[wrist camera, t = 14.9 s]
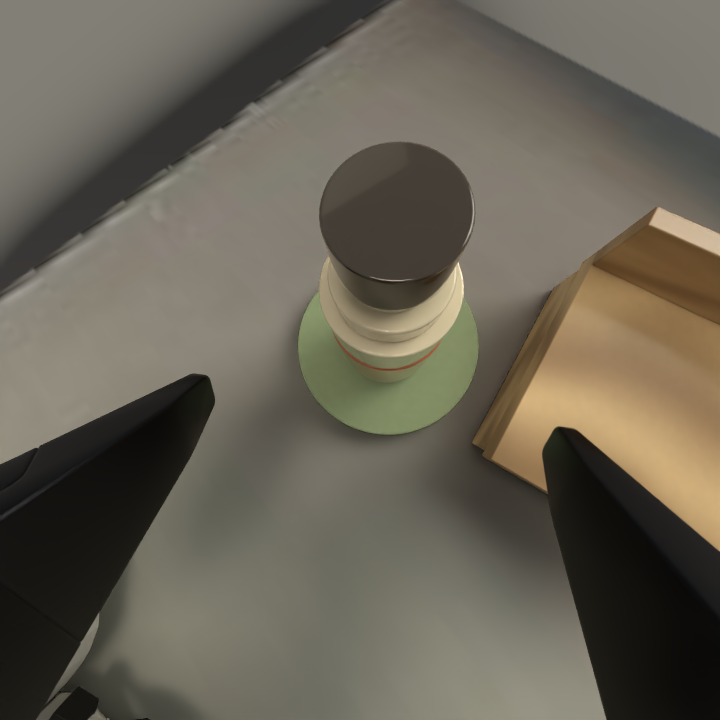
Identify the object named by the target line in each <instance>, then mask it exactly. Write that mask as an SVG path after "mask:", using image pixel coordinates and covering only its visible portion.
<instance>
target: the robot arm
mask: <svg viewBox="0 0 720 720" xmlns="http://www.w3.org/2000/svg"><path fill="white" fill-rule="evenodd" d="M214 404H215V397H214V393H213V389H212V385H211V381H210V378H209V377H208V376H206V375H202V374H190V375H188V376H186V377H184V378H181V379H179V380H177V381H175V382H173V383H171V384H169V385H167V386H165V387H163V388H160V389H158V390H156V391H154V392H152V393H150V394H148V395H146V396H144V397H142V398H140V399H137V400H135V401H133V402H131V403H129V404H127V405H125V406H123V407H121V408H119V409H116V410H114V411H112V412H110V413H108V414H106V415H104V416H102V417H100V418H98V419H95V420H93V421H91V422H89V423H87V424H85V425H83V426H81V427H79V428H77V429H74V430H72V431H70V432H68V433H66V434H64V435H62V436H60V437H58V438H56V439H53V440H51V441H49V442H47V443H45V444H43V445H41V446H40V447H39V448H34V449H32V450H30V451H28V452H26V453H24V454H22V455H20V456H18V457H16V458H13V459H11V460H9V461H7V462H5V463H3V464H0V720H36V719H37V718H38V716H39V714H40V713H41V711H42V709H43V707H44V706H45V704H46V702H47V701H48V699H49V697H50V696H51V694H52V692H53V691H54V689H55V687H56V685H57V684H58V682H59V680H60V679H61V677H62V675H63V674H64V672H65V670H66V668H67V667H68V665H69V663H70V662H71V660H72V658H73V657H74V655H75V653H76V651H77V650H78V648H79V646H80V645H81V641H82V640H83V639H84V637H85V636H86V634H87V632H88V631H89V629H90V627H91V625H92V624H93V622H94V620H95V619H96V617H97V615H98V614H99V612H100V610H101V608H102V607H103V605H104V603H105V602H106V600H107V598H108V597H109V595H110V593H111V591H112V590H113V588H114V586H115V585H116V583H117V581H118V580H119V578H120V576H121V575H122V573H123V571H124V569H125V568H126V566H127V564H128V563H129V561H130V559H131V558H132V556H133V554H134V552H135V551H136V549H137V547H138V546H139V544H140V542H141V541H142V539H143V537H144V535H145V534H146V532H147V530H148V529H149V527H150V525H151V524H152V522H153V520H154V518H155V517H156V515H157V513H158V512H159V510H160V508H161V507H162V505H163V503H164V501H165V500H166V498H167V496H168V495H169V493H170V491H171V490H172V488H173V486H174V484H175V483H176V481H177V479H178V478H179V476H180V474H181V473H182V471H183V469H184V468H185V466H186V464H187V462H188V461H189V459H190V457H191V455H192V453H193V451H194V449H195V447H196V445H197V443H198V440H199V438H200V436H201V434H202V432H203V429H204V427H205V425H206V423H207V420H208V418H209V416H210V414H211V412H212V409H213V407H214ZM542 459H543V466H544V473H545V479H546V486H547V492H548V499H549V505H550V511H551V516H552V520H553V524H554V528H555V531H556V535H557V539H558V542H559V546H560V550H561V554H562V557H563V561H564V565H565V568H566V572H567V576H568V579H569V583H570V587H571V590H572V594H573V598H574V601H575V605H576V609H577V612H578V616H579V620H580V624H581V627H582V631H583V635H584V638H585V642H586V646H587V649H588V653H589V657H590V660H591V664H592V668H593V671H594V675H595V679H596V683H597V686H598V690H599V694H600V697H601V701H602V705H603V708H604V712H605V716H606V719H607V720H720V551H719V550H718V549H716V548H715V547H714V546H713V545H712V544H710V543H709V542H708V541H707V540H706V539H705V538H703V537H702V536H701V535H700V534H699V533H698V532H696V531H695V530H694V529H693V528H692V527H691V526H689V525H688V524H687V523H686V522H685V521H683V520H682V519H681V518H680V517H679V516H678V515H676V514H675V513H674V512H673V511H672V510H671V509H669V508H668V507H667V506H666V505H665V504H664V503H662V502H661V501H660V500H659V499H658V498H656V497H655V496H654V495H653V494H652V493H651V492H649V491H648V490H647V489H646V488H645V487H644V486H642V485H641V484H640V483H639V482H638V481H637V480H635V479H634V478H633V477H632V476H631V475H630V474H628V473H627V472H626V471H625V470H624V469H622V468H621V467H620V466H619V465H618V464H617V463H615V462H614V461H613V460H612V459H611V458H610V457H608V456H607V455H606V454H605V453H604V452H603V451H601V450H600V449H599V448H598V447H597V446H595V445H594V444H593V443H592V442H591V441H590V440H588V439H587V438H586V437H585V436H584V435H583V434H581V433H580V432H579V431H578V430H576V429H574V428H569V427H562V426H557V427H556V428H554V430H553V431H552V433H551V435H550V437H549V438H548V440H547V442H546V443H545V445H544V447H543V450H542Z"/></svg>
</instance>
